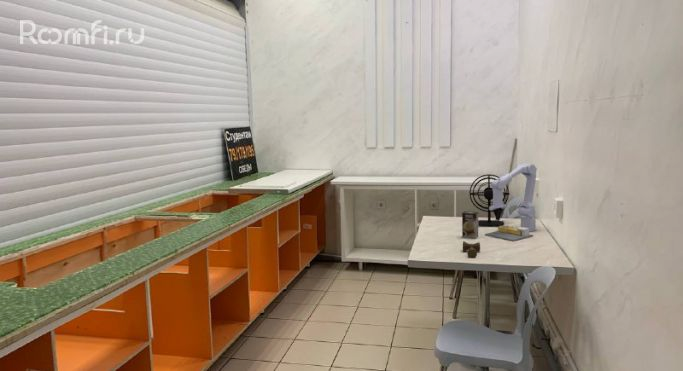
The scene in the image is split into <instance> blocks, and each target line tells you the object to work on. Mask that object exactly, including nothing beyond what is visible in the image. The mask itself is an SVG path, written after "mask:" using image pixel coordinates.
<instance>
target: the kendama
mask: <svg viewBox="0 0 683 371" xmlns="http://www.w3.org/2000/svg"><path fill="white" fill-rule="evenodd" d="M466 251H467V256H468V258H470V257H471V259H474V258H476V257H477V256H478V253H480V252H481V242H479V241H477V242H476V243H468V242H466V241H464V240H463V241H462V252H463V253H465V252H466Z"/></svg>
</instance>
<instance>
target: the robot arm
mask: <svg viewBox="0 0 683 371" xmlns="http://www.w3.org/2000/svg"><path fill="white" fill-rule="evenodd" d="M520 174H521V175H523V176H524V177H525V179H526V182H525V187H524V195H523V200H522V202H521V203H520V205H519V207H518V210H517V213H518V215H519V217H520V227H524V228H529V233H530V232H534V231H537V228H536V227H537V226H536V223H537V222H536V218H535V217H534V216H536V206H535V205H534V204H533V199H534V192H535V188H536V180H537V179H536V178H537V167H536V165H535V164H533V163H523V162H522V163H520V164H518V165H517V166H516V168H514V169H513V170H511V171H510V172H509V173H503V175H502V176H499V177H500V178H496V179H497V180H493V181H491V182H492V183H491V184H490V187H491V188H492V189H493V199H492V204H493V205H491V207H489V210H492V211H493V212H492V213H493V214H494V217H495V220H498V221H501V217H502V214H503V212H504V211H505V210H504V208H507V204H508V203H506V204H504V201H503V197H504V195H503V192H504V188H505V187H506V184H507V185H508V184H509V183H511V182H512V180H513V178H515V177H517V176H518V175H520Z"/></svg>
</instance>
